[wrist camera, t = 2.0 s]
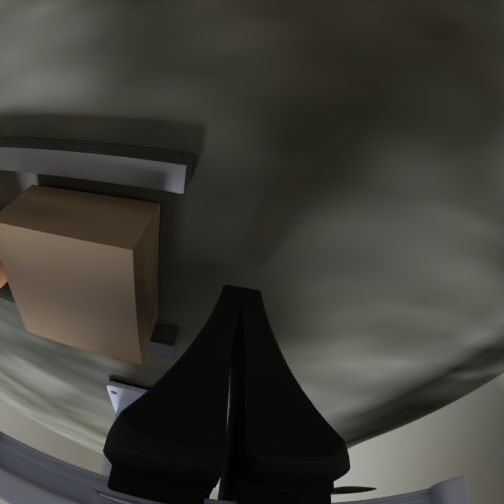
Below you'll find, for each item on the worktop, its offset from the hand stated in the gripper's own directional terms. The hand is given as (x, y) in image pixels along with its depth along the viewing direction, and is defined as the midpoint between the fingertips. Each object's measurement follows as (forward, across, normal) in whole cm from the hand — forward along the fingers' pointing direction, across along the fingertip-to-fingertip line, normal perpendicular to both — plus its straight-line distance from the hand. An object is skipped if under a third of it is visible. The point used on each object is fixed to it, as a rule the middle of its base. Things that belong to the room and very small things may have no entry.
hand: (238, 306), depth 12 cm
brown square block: (+2, +6, 0) cm, 7 cm away
